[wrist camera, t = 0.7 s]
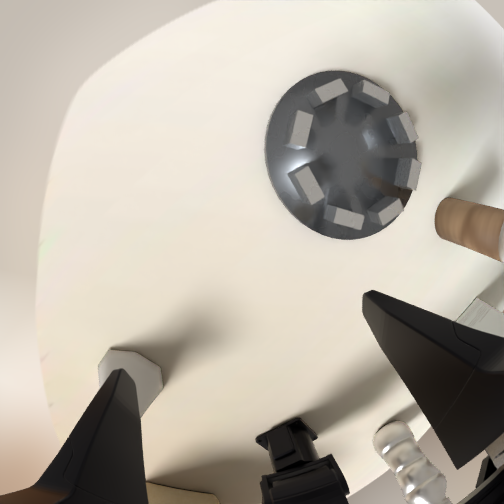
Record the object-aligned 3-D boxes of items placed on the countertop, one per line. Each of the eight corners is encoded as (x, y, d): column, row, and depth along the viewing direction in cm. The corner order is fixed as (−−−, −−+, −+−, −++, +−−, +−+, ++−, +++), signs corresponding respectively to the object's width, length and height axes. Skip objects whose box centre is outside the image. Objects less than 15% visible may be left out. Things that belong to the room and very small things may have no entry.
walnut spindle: (462, 225, 27) (525, 247, 17) (440, 246, 27) (505, 275, 17) (454, 190, 25) (522, 204, 16) (430, 210, 25) (502, 231, 16)
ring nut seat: (429, 189, 25) (448, 192, 22) (318, 269, 25) (331, 280, 22) (367, 55, 20) (382, 46, 17) (228, 117, 20) (231, 109, 17)
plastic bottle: (393, 435, 37) (445, 512, 18) (362, 445, 35) (412, 531, 16) (408, 411, 35) (470, 491, 16) (376, 421, 34) (438, 514, 15)
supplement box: (445, 330, 31) (505, 377, 19) (476, 295, 31) (537, 332, 19) (451, 356, 33) (500, 400, 21) (480, 325, 33) (530, 361, 21)
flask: (101, 337, 23) (66, 409, 14) (171, 361, 25) (163, 441, 16) (96, 386, 25) (71, 454, 15) (157, 406, 27) (149, 479, 17)
